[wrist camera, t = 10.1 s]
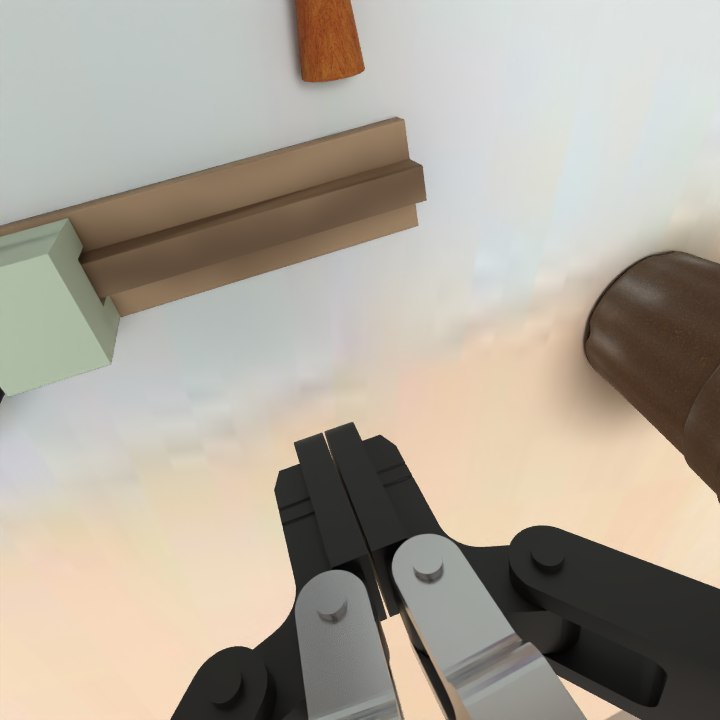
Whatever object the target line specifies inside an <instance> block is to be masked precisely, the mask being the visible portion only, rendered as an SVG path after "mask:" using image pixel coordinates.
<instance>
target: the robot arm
mask: <svg viewBox="0 0 720 720" xmlns="http://www.w3.org/2000/svg"><path fill="white" fill-rule="evenodd" d="M325 436H326V439H327V442H328V446H329V449H330V452H331V454H330V452H329V449H328V446H327V444H326V441H325V438H324V436H323V433H319V434H317V435H314V436H311V437H308V438H305V439H302V440H300V441H297V442H294V446H295V449H296V452H297V456H298V459H299V462H300V464H298V465H295V466H292V467H289V468H286V469H284V470H281V471H279V474H278V478H277V482H276V485H275V489H274V491H275V496H276V500H277V504H278V509H279V513H280V518H281V522H282V525H283V531H284V535H285V540H286V544H287V548H288V553H289V557H290V561H291V566H292V570H293V575H294V579H295V584H296V597H295V602H294V605H293V608H292V610H291V612H290V614H289V616H288V617H287V619H286V620H285V622H284V623H283V624H282V625H281V626H280V627H279V628H278V629H277V630H276V631H275V632H274V633H273V634H272V635H270V636H269V637H268V638H267V639H265V640H264V641H263V642H262V643H260V644H259V645H258V646H257V647H255V648H254V649H253V650H252V649H250V648H247V647H242V646H235V647H229V648H226V649H223V650H221V651H219V652H217V653H216V654H214V655H213V656H212V657H210V658H209V659H208V660H207V661H206V662H205V663H204V664H203V665H202V666H201V667H200V669H199V670H198V672H197V673H196V675H195V676H194V678H193V680H192V682H191V683H190V685H189V687H188V689H187V691H186V692H185V694H184V696H183V698H182V700H181V701H180V703H179V705H178V707H177V709H176V710H175V712H174V714H173V716H172V718H171V719H170V720H405V718H404V715H403V711H402V707H401V704H400V700H399V696H398V692H397V689H396V685H395V681H394V678H393V674H392V670H391V666H390V663H389V660H390V655H389V649H388V645H387V642H386V639H385V636H384V632H383V629H382V626H381V623H380V621H383V620H385V619H387V616H386V613H385V609H384V606H383V602H382V599H381V595H380V592H379V589H380V591H381V594H382V597H383V599H384V602H385V605H386V607H387V610H388V613H389V615H390V617H392V616H394V615H397V614H399V613H400V615H401V618H402V620H403V623H404V625H405V628H406V630H407V633H408V636H409V639H410V643H411V647H412V650H413V652H414V654H415V656H416V659H417V661H418V663H419V665H420V667H421V669H422V671H423V673H424V675H425V677H426V679H427V681H428V684H429V686H430V688H431V690H432V692H433V694H434V696H435V698H436V700H437V702H438V704H439V707H440V709H441V711H442V713H443V715H444V717H445V719H446V720H587V719H586V717H585V716H584V714H583V713H582V711H581V710H580V708H579V707H578V706H577V704H576V703H575V701H574V700H573V698H572V697H571V695H570V694H569V692H568V691H567V690H566V688H565V687H564V685H563V684H562V682H561V681H560V679H559V678H558V676H560V677H562V678H564V679H566V680H567V681H569V682H571V683H573V684H575V685H577V686H579V687H581V688H583V689H584V690H586V691H588V692H590V693H592V694H594V695H596V696H598V697H600V698H601V699H603V700H605V701H607V702H609V703H611V704H613V705H615V706H617V707H618V708H620V709H622V710H624V711H626V712H628V713H630V714H632V715H634V716H635V717H637V718H639V719H641V720H720V589H718V588H716V587H713V586H710V585H708V584H705V583H702V582H700V581H697V580H694V579H692V578H689V577H686V576H684V575H681V574H678V573H676V572H673V571H670V570H668V569H665V568H662V567H660V566H657V565H654V564H652V563H649V562H647V561H644V560H641V559H639V558H636V557H633V556H631V555H628V554H625V553H623V552H620V551H617V550H615V549H612V548H609V547H607V546H604V545H601V544H599V543H596V542H593V541H591V540H588V539H586V538H583V537H580V536H578V535H575V534H572V533H570V532H567V531H564V530H562V529H559V528H556V527H552V526H541V525H540V526H533V527H529V528H526V529H524V530H522V531H521V532H519V533H518V534H517V535H516V536H515V537H514V538H513V540H512V541H511V543H510V545H506V546H492V547H473V546H468V545H464V544H461V543H459V542H457V541H455V540H453V539H452V538H450V537H449V536H448V535H447V534H446V533H445V532H444V531H443V530H442V529H441V527H440V525H439V524H438V522H437V520H436V518H435V516H434V515H433V513H432V511H431V509H430V507H429V505H428V504H427V502H426V500H425V498H424V496H423V494H422V493H421V491H420V489H419V487H418V485H417V483H416V482H415V480H414V478H413V477H412V474H411V472H410V471H409V469H408V467H407V465H406V464H405V461H404V460H403V458H402V456H401V454H400V452H399V450H398V449H397V447H396V445H394V444H393V443H391V442H390V441H389V440H387V439H386V438H384V437H383V436H381V435H378V436H375V437H372V438H369V439H367V440H364V441H362V440H361V438H360V435H359V433H358V431H357V429H356V427H355V425H354V423H353V422H350V423H347V424H344V425H342V426H339V427H336V428H333V429H330V430H328V431H325ZM331 456H332V457H331ZM376 581H377V582H376ZM377 583H378V585H377ZM378 586H379V589H378ZM557 675H558V676H557Z"/></svg>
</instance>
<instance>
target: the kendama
mask: <svg viewBox="0 0 720 720" xmlns="http://www.w3.org/2000/svg"><path fill="white" fill-rule="evenodd" d="M295 2H296V14H297V26H298V38H299V50H300V62H301V74H302V80H304V81H307V82H324V81H332V80H338V79H342V78H347V77H351V76H354V75H357V74H359V73H361V72H363V71H364V69H365V67H364V62H363V57H362V53H361V48H360V43H359V39H358V34H357V29H356V25H355V20H354V15H353V10H352V6H351V1H350V0H295Z"/></svg>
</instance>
